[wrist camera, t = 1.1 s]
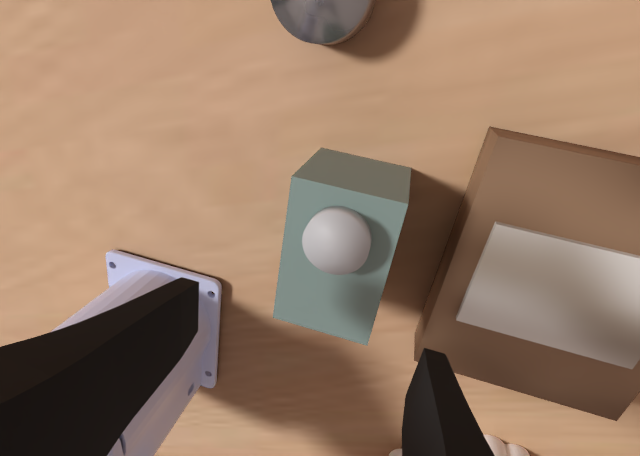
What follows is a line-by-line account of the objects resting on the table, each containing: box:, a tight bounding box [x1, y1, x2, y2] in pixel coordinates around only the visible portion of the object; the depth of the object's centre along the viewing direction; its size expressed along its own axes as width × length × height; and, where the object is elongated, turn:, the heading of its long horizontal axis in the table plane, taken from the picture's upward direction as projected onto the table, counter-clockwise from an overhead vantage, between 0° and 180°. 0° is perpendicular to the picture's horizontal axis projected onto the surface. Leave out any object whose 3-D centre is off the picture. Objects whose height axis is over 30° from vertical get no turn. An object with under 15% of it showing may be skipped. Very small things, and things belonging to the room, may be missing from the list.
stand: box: [414, 127, 640, 421], centre depth 17 cm, size 12×10×2 cm
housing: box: [273, 148, 411, 345], centre depth 18 cm, size 7×4×6 cm, turn 171°
